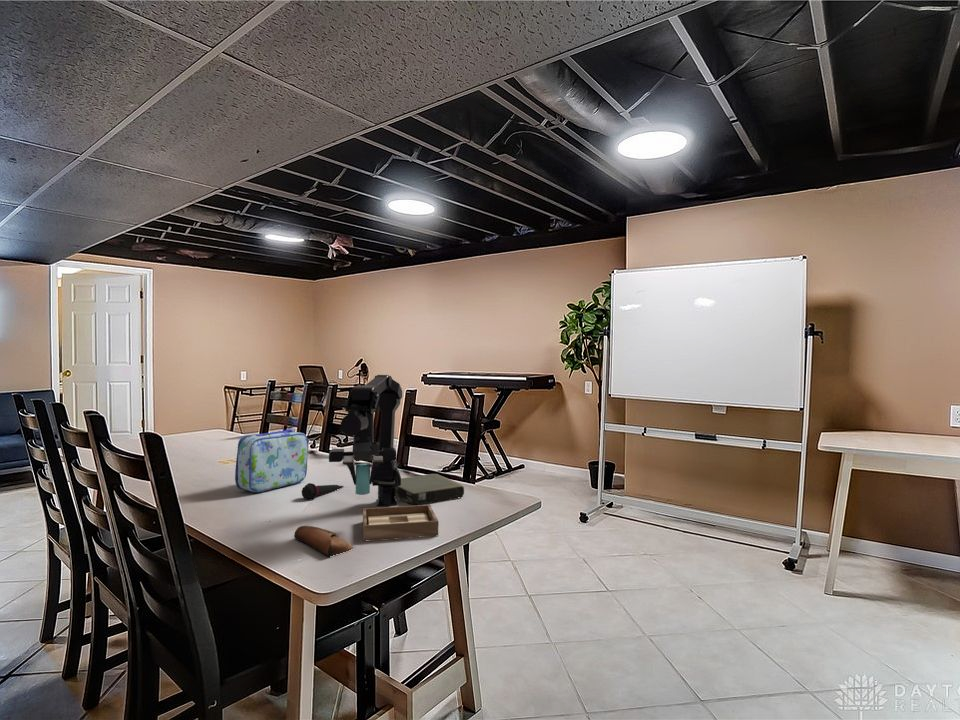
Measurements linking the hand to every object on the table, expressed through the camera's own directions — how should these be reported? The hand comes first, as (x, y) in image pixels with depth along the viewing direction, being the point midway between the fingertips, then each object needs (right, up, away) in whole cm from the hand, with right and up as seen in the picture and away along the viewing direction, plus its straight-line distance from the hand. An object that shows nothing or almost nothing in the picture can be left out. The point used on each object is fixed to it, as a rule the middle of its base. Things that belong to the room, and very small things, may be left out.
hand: (362, 484), depth 143 cm
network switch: (+14, -13, +35) cm, 40 cm away
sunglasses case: (-7, -13, -14) cm, 20 cm away
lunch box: (-44, -12, +43) cm, 62 cm away
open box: (+11, -12, -1) cm, 16 cm away
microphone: (-21, -13, +34) cm, 42 cm away
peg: (0, -2, 0) cm, 2 cm away
